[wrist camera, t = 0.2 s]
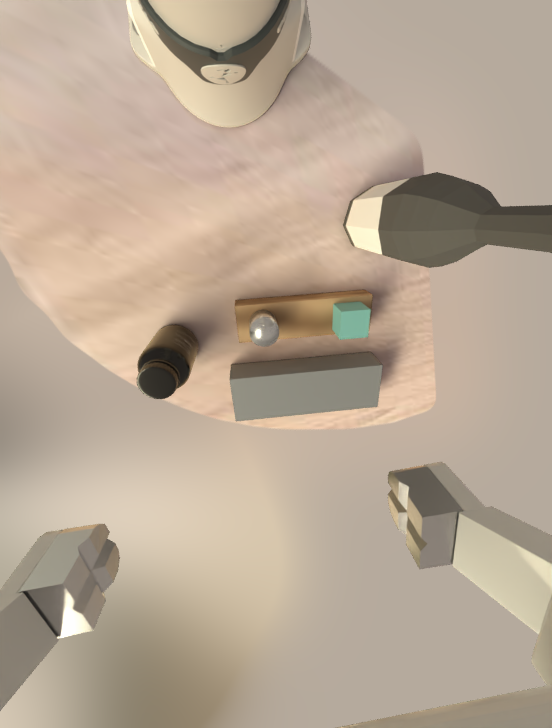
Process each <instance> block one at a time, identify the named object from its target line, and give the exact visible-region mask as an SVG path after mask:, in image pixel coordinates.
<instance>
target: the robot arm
mask: <svg viewBox="0 0 552 728" xmlns="http://www.w3.org/2000/svg"><path fill="white" fill-rule="evenodd" d="M127 8H128V16H129V32H130V42H131V45H132V48H133V50H134V52H135V54H136V55H137V57H138V58H139V59H140V60H141V61H142V62H143V63H144V64H146V65H147V66H148V67H150V68H151V69H152V70H154V71H155V72H157V73H158V74H159V75H160V76H161V77H162V78H163V79H164V80H165V82H166V83H167V84H168V86H169V87H170V89H171V90H172V92H173V93H174V95H175V96H176V97H177V99H178V100H179V101H180V102H181V103H182V104H183V105H184V107H185V108H186V109H188V110H189V111H190V112H191V113H192V114H194V115H195V116H196V117H198V118H199V119H201V120H203V121H205V122H207V123H209V124H212V125H215V126H220V127H238V126H243V125H246V124H248V123H250V122H252V121H254V120H256V119H257V118H259V117H260V116H261V115H262V114H264V113H265V112H266V111H267V110H268V109H269V107H270V106H271V105H272V103H273V102H274V101H275V99H276V97H277V96H278V94H279V92H280V90H281V88H282V85H283V83H284V81H285V79H286V77H287V75H288V73H289V72H290V70H291V69H292V68H293V67H294V66H295V65H297V64H298V63H299V62H300V61H301V60H302V59H303V57H304V56H305V55H306V53H307V52H308V50H309V47H310V42H311V30H310V22H309V15H308V8H307V1H306V0H127ZM388 483H389V485H390V487H391V488H392V489H391V491H390V492H389V493H388V504H389V508H390V512H391V515H392V518H393V520H394V522H395V524H396V526H397V528H398V530H400V531H401V532H403V533H404V534H406V545H407V547H408V549H409V550H410V552H411V554H412V556H413V558H414V560H415V562H416V563H417V565H418V567H419V569H424V568H430V567H437V566H443V565H450V564H453V567H454V568H456V569H457V570H458V571H459V572H461V573H462V574H463V575H465V576H466V577H467V578H468V579H469V580H471V581H472V582H473V583H474V584H476V585H477V586H478V587H480V588H481V589H482V590H483V591H485V592H486V593H487V594H488V595H490V596H491V597H492V598H493V599H495V600H496V601H497V602H499V603H500V604H501V605H502V606H503V607H505V608H506V609H507V610H509V611H510V612H511V613H512V614H513V615H515V616H516V617H517V618H519V619H520V620H521V621H522V622H523V623H525V624H526V625H527V626H528V627H530V628H531V629H532V630H533V631H535V632H536V633H537V634H538V638H537V642H536V644H535V648H534V651H533V654H532V664H533V666H534V667H535V668H536V670H537V672H538V673H539V675H540V676H541V678H542V679H543V681H544V682H545V684H546V685H547V686H543V687H538V688H533V689H527V690H522V691H517V692H513V693H507V694H502V695H497V696H492V697H487V698H483V699H477V700H472V701H467V702H462V703H457V704H452V705H447V706H442V707H437V708H433V709H427V710H422V711H417V712H412V713H407V714H402V715H397V716H392V717H387V718H382V719H377V720H372V721H367V722H362V723H358V724H352V725H347V726H342V727H337V728H552V535H550V534H548V533H545V532H543V531H541V530H539V529H537V528H535V527H533V526H531V525H529V524H527V523H525V522H522V521H521V520H519V519H517V518H515V517H512V516H510V515H508V514H506V513H504V512H502V511H500V510H498V509H496V508H494V507H492V506H491V507H485V506H484V505H483V504H482V503H481V502H480V501H479V500H478V498H477V497H476V496H475V495H474V494H473V493H472V492H471V491H470V490H469V489H468V488H467V487H466V486H465V484H463V482H462V481H461V480H460V479H459V478H458V477H457V476H456V475H455V474H454V473H453V472H452V471H451V469H450V468H449V467H448V466H447V465H446V464H445V463H442V462H437V463H432V464H426V465H423V466H416V467H411V468H405V469H400V470H395V471H390V472H389V474H388ZM108 535H109V530H108V529H107V527H106V525H105V524H95V525H88V526H83V527H75V528H69V529H64V530H58V531H51V532H46V533H45V534H43V535H42V536H40V537H39V538H38V540H37V541H36V542H35V544H34V545H33V546H32V548H31V549H30V551H29V552H28V553H27V555H26V556H25V557H24V558H23V560H22V561H21V563H20V564H19V565H18V567H17V568H16V569H15V571H14V572H13V573H12V575H11V576H10V577H9V579H8V580H7V582H6V583H5V584H4V585H3V587H2V588H1V590H0V711H1V709H2V708H3V707H4V706H5V704H6V703H7V702H8V701H9V700H10V699H11V697H12V696H13V695H14V694H15V692H16V691H17V690H18V689H19V688H20V686H21V685H22V684H23V683H24V682H25V680H26V679H27V678H28V677H29V676H30V674H31V673H32V672H33V671H34V669H35V668H36V667H37V666H38V665H39V663H40V662H41V661H42V660H43V659H44V657H45V656H46V655H47V654H48V653H49V651H50V650H51V649H52V648H53V647H54V645H55V644H56V643H57V642H58V638H61V637H66V636H70V635H75V634H79V633H84V632H88V631H93V630H94V627H95V625H96V623H97V620H98V618H99V616H100V613H101V611H102V608H103V606H104V604H105V601H106V599H105V595H104V591H105V590H106V589H107V588H108V587H109V586H110V585H111V584H112V583H113V582H114V579H115V577H116V574H117V572H118V567H119V559H120V557H119V551H118V548H117V546H116V544H115V543H114V542H112V541H110V540H108V539H107V538H108Z"/></svg>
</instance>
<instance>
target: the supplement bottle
mask: <svg viewBox="0 0 552 728" xmlns="http://www.w3.org/2000/svg"><path fill="white" fill-rule="evenodd" d="M197 352H198V342H197V339H196V337H195V335H194V334H193V333H192V332H191V331H190V330H188V329H187V328H185V327H183V326H179V325H169V326H165V327H163V328H161V329H160V330H159V331H158V332H157V333H156V335H155V336H154V337H153V339H152V340H151V341H150V343H149V344H148V346H147V347H146V348H145V350H144V351H143V353H142V354H141V356H140V357H139V360H138V372H139V374H138V377H137V386H138V387H139V389H140V390H141V391H142V392H143V394H145V395H146V396H149V397H150V398H154V399H165V398H167V397H169V396H171V395H172V394H173V393H174V391H175V390H176V389H177V388H179V387H181V386H182V385H184V384H185V383H186V381H187V380H188V378H189V376H190V373H191V370H192V367H193V364H194V361H195V358H196V355H197Z"/></svg>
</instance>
